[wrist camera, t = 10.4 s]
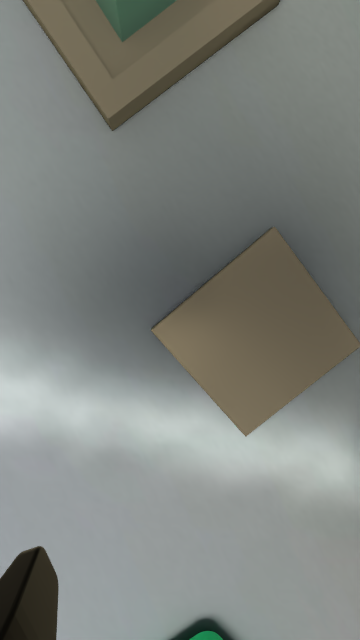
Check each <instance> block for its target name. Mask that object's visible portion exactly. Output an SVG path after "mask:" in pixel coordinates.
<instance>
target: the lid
mask: <svg viewBox="0 0 360 640" xmlns="http://www.w3.org/2000/svg"><path fill="white" fill-rule="evenodd" d="M151 331H152V332H153V333H154V334H155V335H156V337H157V338H158V339H159V340H160V341H161V342H162V343H163V344H164V346H165V347H166V348H167V349H168V350H169V351H170V352H171V353H172V355H173V356H174V357H175V358H176V359H177V360H178V361H179V362H180V363H181V365H182V366H183V367H184V368H185V369H186V370H187V371H188V372H189V374H190V375H191V376H192V377H193V378H194V379H195V380H196V381H197V383H198V384H199V385H200V386H201V387H202V388H203V389H204V390H205V392H206V393H207V394H208V395H209V396H210V397H211V398H212V399H213V401H214V402H215V403H216V404H217V405H218V406H219V407H220V408H221V410H222V411H223V412H224V413H225V414H226V415H227V416H228V417H229V418H230V420H231V421H232V422H233V423H234V424H235V425H236V426H237V427H238V429H239V430H240V431H241V432H242V433H243V434H244V435H245V436H247V435H248V434H249V433H251V432H252V431H253V430H255V429H256V428H257V427H258V426H260V425H261V424H262V423H263V422H265V421H266V420H267V419H269V418H270V417H271V416H272V415H274V414H275V413H276V412H277V411H279V410H280V409H281V408H282V407H284V406H285V405H286V404H288V403H289V402H290V401H291V400H293V399H294V398H295V397H296V396H298V395H299V394H300V393H302V392H303V391H304V390H305V389H307V388H308V387H309V386H310V385H312V384H313V383H314V382H316V381H317V380H318V379H319V378H321V377H322V376H323V375H324V374H326V373H327V372H328V371H329V370H331V369H332V368H333V367H335V366H336V365H337V364H338V363H340V362H341V361H342V360H343V359H345V358H346V357H347V356H349V355H350V354H351V353H352V352H354V351H355V350H356V349H357V348H359V347H360V343H359V341H358V340H357V339H356V337H355V336H354V335H353V333H352V332H351V331H350V329H349V328H348V326H347V325H346V324H345V322H344V321H343V320H342V318H341V317H340V315H339V314H338V313H337V311H336V310H335V309H334V307H333V306H332V305H331V303H330V302H329V300H328V299H327V298H326V296H325V295H324V294H323V292H322V291H321V289H320V288H319V287H318V285H317V284H316V283H315V281H314V280H313V279H312V277H311V276H310V274H309V273H308V272H307V270H306V269H305V268H304V266H303V265H302V263H301V262H300V261H299V259H298V258H297V257H296V255H295V254H294V253H293V251H292V250H291V248H290V247H289V246H288V244H287V243H286V242H285V240H284V239H283V237H282V236H281V235H280V233H279V232H278V231H277V229H276V228H275V227H272V228H271V229H269V230H268V231H267V232H266V233H265V234H263V235H262V236H261V237H260V238H259V239H258V240H256V241H255V242H254V243H253V244H252V245H250V246H249V247H248V248H247V249H246V250H244V251H243V252H242V253H241V254H240V255H238V256H237V257H236V258H235V259H234V260H233V261H231V262H230V263H229V264H228V265H227V266H225V267H224V268H223V269H222V270H221V271H219V272H218V273H217V274H216V275H215V276H214V277H212V278H211V279H210V280H209V281H208V282H206V283H205V284H204V285H203V286H202V287H200V288H199V289H198V290H197V291H196V292H194V293H193V294H192V295H191V296H190V297H189V298H187V299H186V300H185V301H184V302H183V303H181V304H180V305H179V306H178V307H177V308H175V309H174V310H173V311H172V312H171V313H169V314H168V315H167V316H166V317H165V318H164V319H162V320H161V321H160V322H159V323H158V324H156V325H155V326H154V327H153V328H152V329H151Z"/></svg>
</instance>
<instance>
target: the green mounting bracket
mask: <svg viewBox="0 0 360 640" xmlns="http://www.w3.org/2000/svg"><path fill="white" fill-rule="evenodd" d="M190 640H223V639H222V638H221V637H220V636H219V635H218V634H217V633H215V632H212V631H203V632H200V633H198V634H197V635H195V636H194V637H192V638H191V639H190Z"/></svg>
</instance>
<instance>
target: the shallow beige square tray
mask: <svg viewBox="0 0 360 640" xmlns="http://www.w3.org/2000/svg"><path fill="white" fill-rule="evenodd" d="M23 1H24V3H25V4H26V6H27V7H28V9H29V10H30V11H31V13H32V14H33V16H34V17H35V19H36V20H37V22H38V23H39V25H40V26H41V27H42V29H43V30H44V32H45V33H46V35H47V36H48V38H49V39H50V41H51V42H52V44H53V45H54V46H55V48H56V49H57V51H58V52H59V54H60V55H61V57H62V58H63V60H64V61H65V63H66V64H67V65H68V67H69V68H70V70H71V71H72V73H73V74H74V76H75V77H76V79H77V80H78V82H79V83H80V84H81V86H82V87H83V89H84V90H85V92H86V93H87V95H88V96H89V98H90V99H91V101H92V102H93V103H94V105H95V106H96V108H97V109H98V111H99V112H100V114H101V115H102V117H103V118H104V120H105V121H106V122H107V124H108V125H109V127H110V128H111V130H112V131H113V130H114V129H116V128H117V127H118V126H120V125H121V124H122V123H124V122H125V121H126V120H128V119H129V118H130V117H131V116H133V115H134V114H135V113H137V112H138V111H139V110H141V109H142V108H143V107H145V106H146V105H147V104H149V103H150V102H151V101H153V100H154V99H155V98H156V97H158V96H159V95H160V94H162V93H163V92H164V91H166V90H167V89H168V88H170V87H171V86H172V85H174V84H175V83H176V82H177V81H179V80H180V79H181V78H183V77H184V76H185V75H187V74H188V73H189V72H191V71H192V70H193V69H195V68H196V67H197V66H199V65H200V64H201V63H202V62H204V61H205V60H206V59H208V58H209V57H210V56H212V55H213V54H214V53H216V52H217V51H218V50H220V49H221V48H222V47H223V46H225V45H226V44H227V43H229V42H230V41H231V40H233V39H234V38H235V37H237V36H238V35H239V34H241V33H242V32H243V31H245V30H246V29H247V28H248V27H250V26H251V25H252V24H254V23H255V22H256V21H258V20H259V19H260V18H262V17H263V16H264V15H266V14H267V13H268V12H269V11H271V10H272V9H273V8H275V7H276V6H277V5H278V4H279V2H280V0H177V1H175V2H174V3H173V4H171V5H170V6H169V7H167V8H166V9H165V10H164V11H162V12H161V13H160V14H158V15H157V16H156V17H155V18H153V19H152V20H151V21H149V22H148V23H147V24H145V25H144V26H143V27H142V28H140V29H139V30H138V31H136V32H135V33H134V34H133V35H131V36H130V37H129V38H127V39H126V40H125V41H123V42H122V41H121V40H120V38H119V37H118V35H117V33H116V32H115V30H114V29H113V27H112V26H111V24H110V22H109V21H108V19H107V18H106V16H105V15H104V13H103V11H102V10H101V8H100V7H99V5H98V4H97V2H96V0H23Z"/></svg>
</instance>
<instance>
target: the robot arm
mask: <svg viewBox="0 0 360 640" xmlns="http://www.w3.org/2000/svg"><path fill="white" fill-rule="evenodd" d="M57 609H58V578H57V575H56V572H55V570H54V568H53V566H52V564H51V561H50V559H49V557H48V555H47V553H46V551H45V549H44V548H43V547H41V546H37V547H34V548H32V549H29V550H26V551H23V552H21V553H20V554H19V555H18V556H17V557H16V558H15V560H14V561H13V562H12V564H11V565H10V566H9V568H8V569H7V570H6V572H5V573H4V574H3V576H2V577H1V578H0V640H56V632H57Z"/></svg>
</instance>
